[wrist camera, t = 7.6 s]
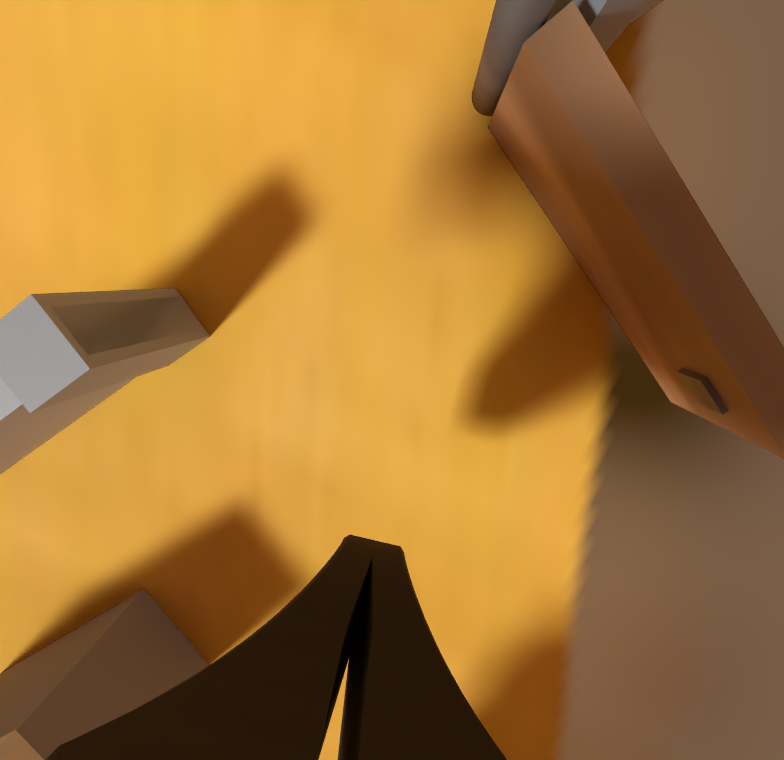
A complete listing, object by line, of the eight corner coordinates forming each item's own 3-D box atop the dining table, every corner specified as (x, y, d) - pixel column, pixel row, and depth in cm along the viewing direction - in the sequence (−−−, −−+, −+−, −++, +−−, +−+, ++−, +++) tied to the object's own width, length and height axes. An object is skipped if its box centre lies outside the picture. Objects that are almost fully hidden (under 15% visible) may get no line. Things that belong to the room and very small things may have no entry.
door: (499, 62, 12) (551, -85, 7) (705, 380, 13) (863, 437, 8) (460, 96, 12) (483, -23, 7) (666, 404, 14) (798, 473, 9)
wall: (680, 2, 11) (891, -224, 6) (-74, 537, 17) (-291, 650, 12) (647, -66, 11) (841, -363, 6) (-108, 499, 16) (-345, 599, 11)
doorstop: (211, 663, 17) (101, 864, 11) (67, 739, 19) (-97, 952, 13) (145, 585, 17) (-7, 754, 11) (1, 670, 18) (-202, 860, 12)
